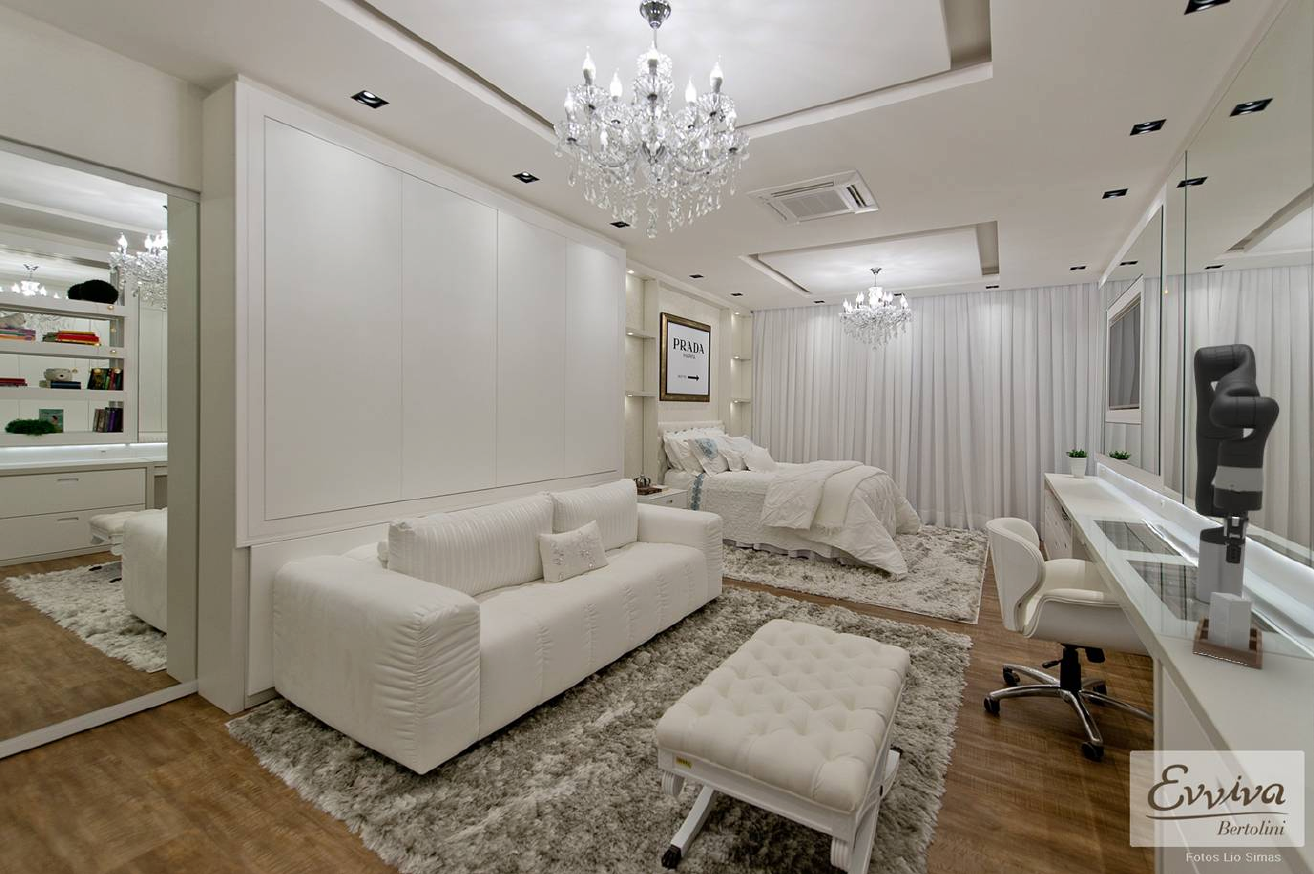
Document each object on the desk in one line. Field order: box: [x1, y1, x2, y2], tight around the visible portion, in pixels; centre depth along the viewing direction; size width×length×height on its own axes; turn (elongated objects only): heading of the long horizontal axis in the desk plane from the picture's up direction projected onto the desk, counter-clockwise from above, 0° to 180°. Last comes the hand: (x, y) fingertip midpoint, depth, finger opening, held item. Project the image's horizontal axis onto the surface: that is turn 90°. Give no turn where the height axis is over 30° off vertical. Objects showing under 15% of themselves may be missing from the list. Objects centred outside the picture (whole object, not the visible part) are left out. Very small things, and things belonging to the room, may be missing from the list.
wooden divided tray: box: [1192, 616, 1263, 670], centre depth 132 cm, size 20×11×5 cm, turn 134°
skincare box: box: [1208, 592, 1253, 651], centre depth 128 cm, size 6×4×12 cm
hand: (1233, 559), depth 127 cm, fingers open, 8 cm apart
